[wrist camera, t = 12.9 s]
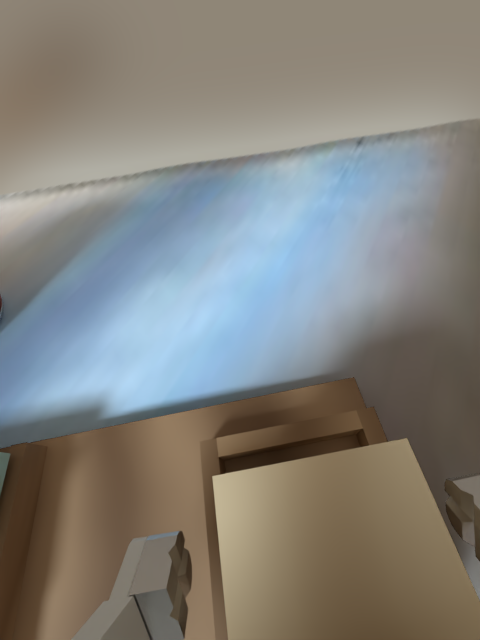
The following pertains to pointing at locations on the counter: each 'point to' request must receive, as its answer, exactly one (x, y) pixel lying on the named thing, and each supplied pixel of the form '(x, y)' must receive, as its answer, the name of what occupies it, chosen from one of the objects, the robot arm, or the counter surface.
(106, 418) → the counter surface
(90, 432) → the puzzle board
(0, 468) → the cover
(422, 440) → the counter surface
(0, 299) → the soda can
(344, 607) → the maple block
